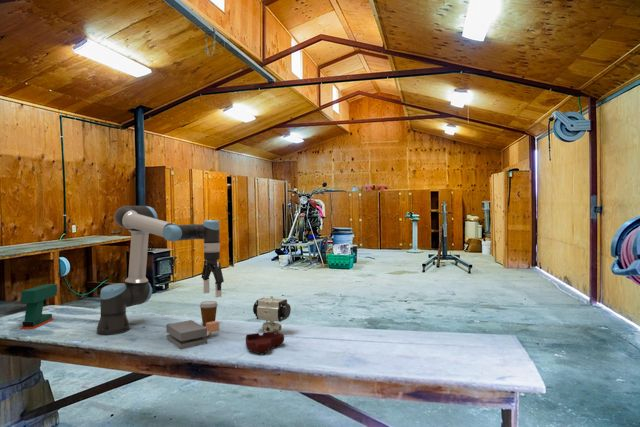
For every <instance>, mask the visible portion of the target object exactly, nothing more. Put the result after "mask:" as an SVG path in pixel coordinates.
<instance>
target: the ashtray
mask: <svg viewBox="0 0 640 427" xmlns="http://www.w3.org/2000/svg"><path fill="white" fill-rule="evenodd" d="M284 341H285V335H284V333H281V332H278V333H276V332H265V331H264V332H263V333H262V334H260V333H259V332H256V333H248V334H246V336H245V346H246V347H247V349H248V350H249V351H250V352H253V353H257V354H258V355H265V354H266V352H269V351H270V350H271V349H273V348H275V347H279V346H280V345H282V344H283V343H284Z"/></svg>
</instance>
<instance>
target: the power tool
mask: <svg viewBox="0 0 640 427" xmlns="http://www.w3.org/2000/svg"><path fill="white" fill-rule="evenodd" d="M59 288H60V286H58V284H57V283H52V284H51V283H50V284H48V283H47V284H46V283H45V284H41V285H37V286H34V287H31V288H28V289H23V290H21V291H20V292H21V294H20V295H21V296H20V297H21V298H20V300H21V302H20V304H22V305H23V304H26V307H25V314H24V321H22V327H20V330H21V329H24V330H36V329H37V327H38V328H39V327H42V326H43V325H46V324H48V323H50V322H53V321H54V317H53V313H43V309H44V307H45V306H47V300H49V299H50V298H52V297H56V296H58V290H59Z"/></svg>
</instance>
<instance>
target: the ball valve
mask: <svg viewBox="0 0 640 427" xmlns="http://www.w3.org/2000/svg"><path fill="white" fill-rule="evenodd" d="M291 309H292V308H291V304H289V303H288V299H284V298H274V296H273V295H272V296H270V297H262V298H259V299H256V301H255V302H254V304H253V306H252V311H253V314H254V315H255V317H256V320H261V321H265V322H263V324H262V325H261V328H262V330H263V331H264V333H265V332H274V333H275V334H276V333H281V331H282V324H281V323H280V322H283V321H285V320H287V319H288V318H289V317H290V315H291Z"/></svg>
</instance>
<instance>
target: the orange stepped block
mask: <svg viewBox="0 0 640 427" xmlns="http://www.w3.org/2000/svg"><path fill="white" fill-rule="evenodd" d="M205 327H206V328H207V333H209V335H210V334H211V333H213V332H219V331H220V322H219V321H216V320H215V321H212V322H207V323H206V326H205Z"/></svg>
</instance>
